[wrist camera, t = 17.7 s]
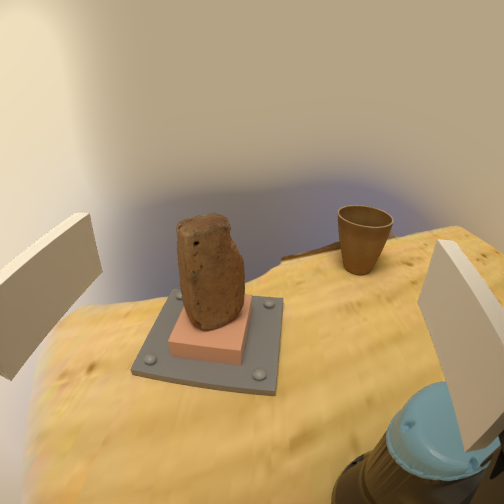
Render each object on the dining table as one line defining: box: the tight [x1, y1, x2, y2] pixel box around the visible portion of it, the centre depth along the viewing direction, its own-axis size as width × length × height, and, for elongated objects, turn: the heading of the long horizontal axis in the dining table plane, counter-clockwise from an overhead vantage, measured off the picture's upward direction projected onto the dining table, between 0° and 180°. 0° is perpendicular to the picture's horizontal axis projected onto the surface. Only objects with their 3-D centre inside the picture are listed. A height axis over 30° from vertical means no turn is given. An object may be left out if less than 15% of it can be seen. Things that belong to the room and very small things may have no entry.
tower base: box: [131, 288, 283, 396], centre depth 61 cm, size 26×26×6 cm
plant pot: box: [338, 205, 393, 275], centre depth 82 cm, size 15×15×16 cm
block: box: [176, 213, 245, 330], centre depth 55 cm, size 11×8×20 cm
